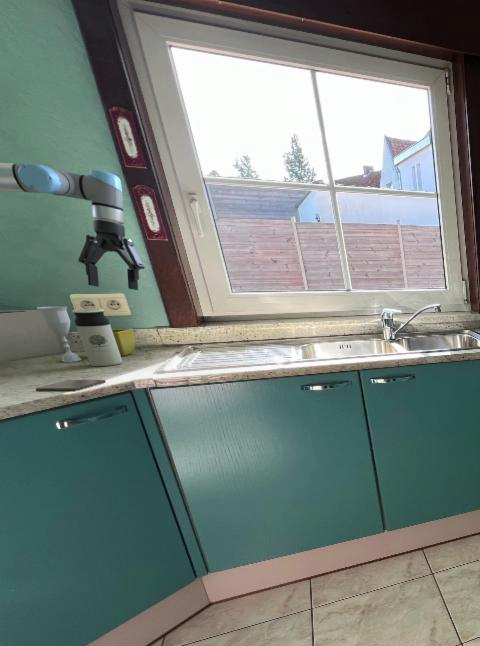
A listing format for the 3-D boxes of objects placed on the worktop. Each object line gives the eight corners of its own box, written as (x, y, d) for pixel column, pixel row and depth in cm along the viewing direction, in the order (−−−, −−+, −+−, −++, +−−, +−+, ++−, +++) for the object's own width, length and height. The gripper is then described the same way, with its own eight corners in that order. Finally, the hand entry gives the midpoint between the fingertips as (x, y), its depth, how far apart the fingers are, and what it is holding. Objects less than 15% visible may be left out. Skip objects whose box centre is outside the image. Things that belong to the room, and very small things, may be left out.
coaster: (36, 391, 136) (35, 388, 135) (69, 382, 145) (68, 379, 145) (75, 391, 137) (74, 388, 136) (105, 382, 146) (104, 379, 145)
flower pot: (97, 357, 176) (88, 332, 173) (114, 353, 184) (105, 328, 181) (126, 357, 178) (117, 332, 175) (141, 352, 186) (133, 328, 183)
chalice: (52, 363, 167) (31, 308, 160) (63, 359, 173) (42, 306, 166) (81, 361, 170) (61, 308, 163) (90, 358, 175) (71, 306, 169)
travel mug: (96, 362, 169) (76, 309, 162) (126, 361, 172) (108, 308, 165) (86, 367, 162) (66, 311, 155) (118, 365, 166) (99, 311, 159)
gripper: (156, 228, 168) (159, 292, 172) (83, 222, 168) (88, 286, 172) (135, 222, 161) (139, 289, 164) (59, 215, 161) (65, 282, 164)
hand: (113, 287), depth 168 cm, fingers open, 13 cm apart
